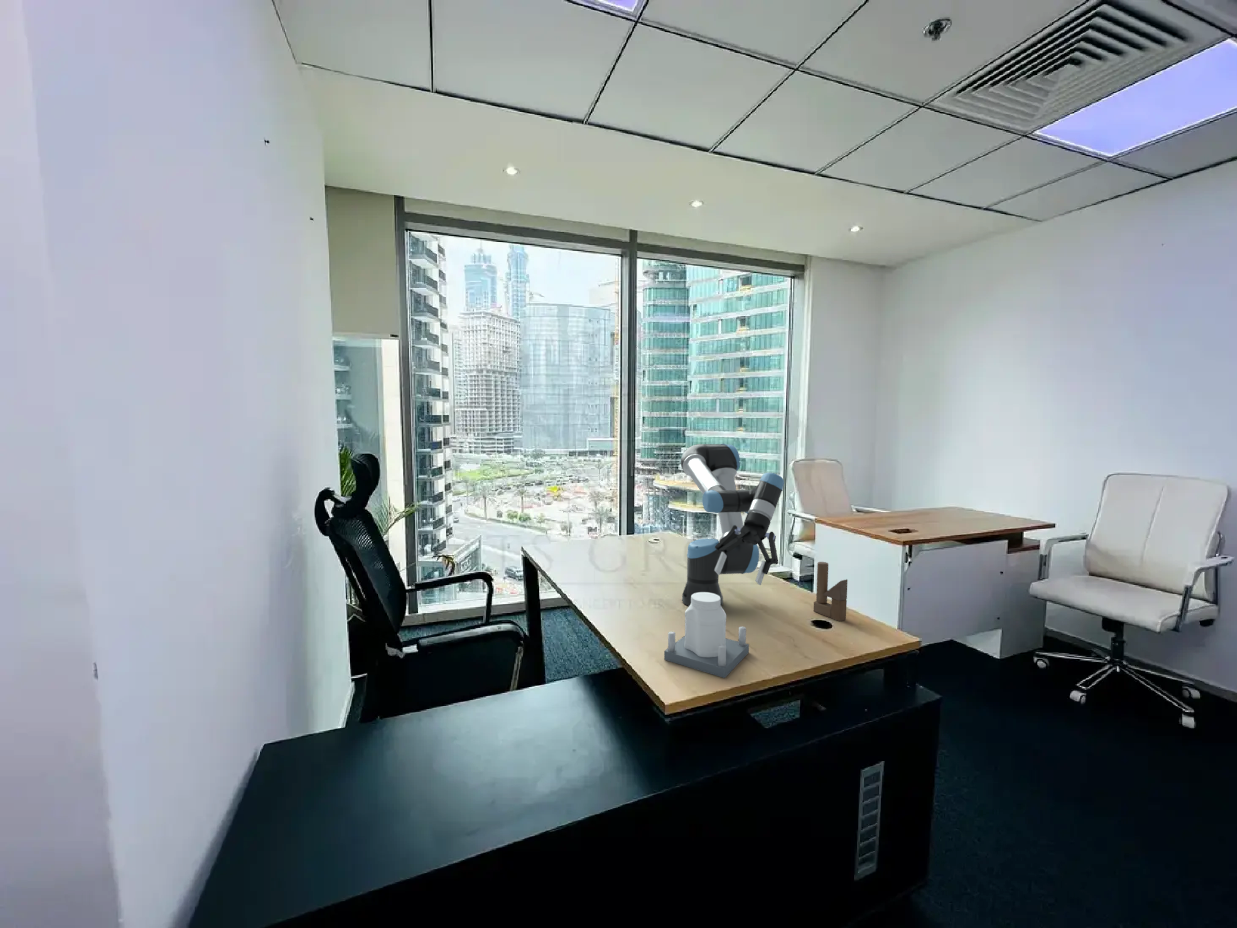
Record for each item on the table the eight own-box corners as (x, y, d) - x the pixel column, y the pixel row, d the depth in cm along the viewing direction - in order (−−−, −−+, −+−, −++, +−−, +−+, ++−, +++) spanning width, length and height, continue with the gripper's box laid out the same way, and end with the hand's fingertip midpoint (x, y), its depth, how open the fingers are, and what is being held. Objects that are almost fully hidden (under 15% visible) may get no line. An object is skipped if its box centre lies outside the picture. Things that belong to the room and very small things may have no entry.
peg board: (664, 659, 138) (664, 633, 137) (692, 637, 152) (692, 614, 152) (724, 678, 128) (725, 650, 127) (748, 652, 142) (749, 627, 142)
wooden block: (839, 621, 166) (841, 569, 165) (813, 611, 175) (814, 562, 174) (846, 619, 168) (848, 568, 166) (819, 609, 177) (821, 560, 176)
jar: (731, 652, 137) (732, 599, 136) (705, 660, 132) (706, 606, 131) (704, 637, 147) (704, 588, 146) (678, 644, 142) (679, 593, 141)
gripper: (801, 529, 149) (780, 592, 141) (728, 517, 166) (706, 573, 158) (794, 516, 145) (772, 581, 136) (720, 505, 161) (696, 563, 153)
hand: (736, 577), depth 147 cm, fingers open, 13 cm apart
